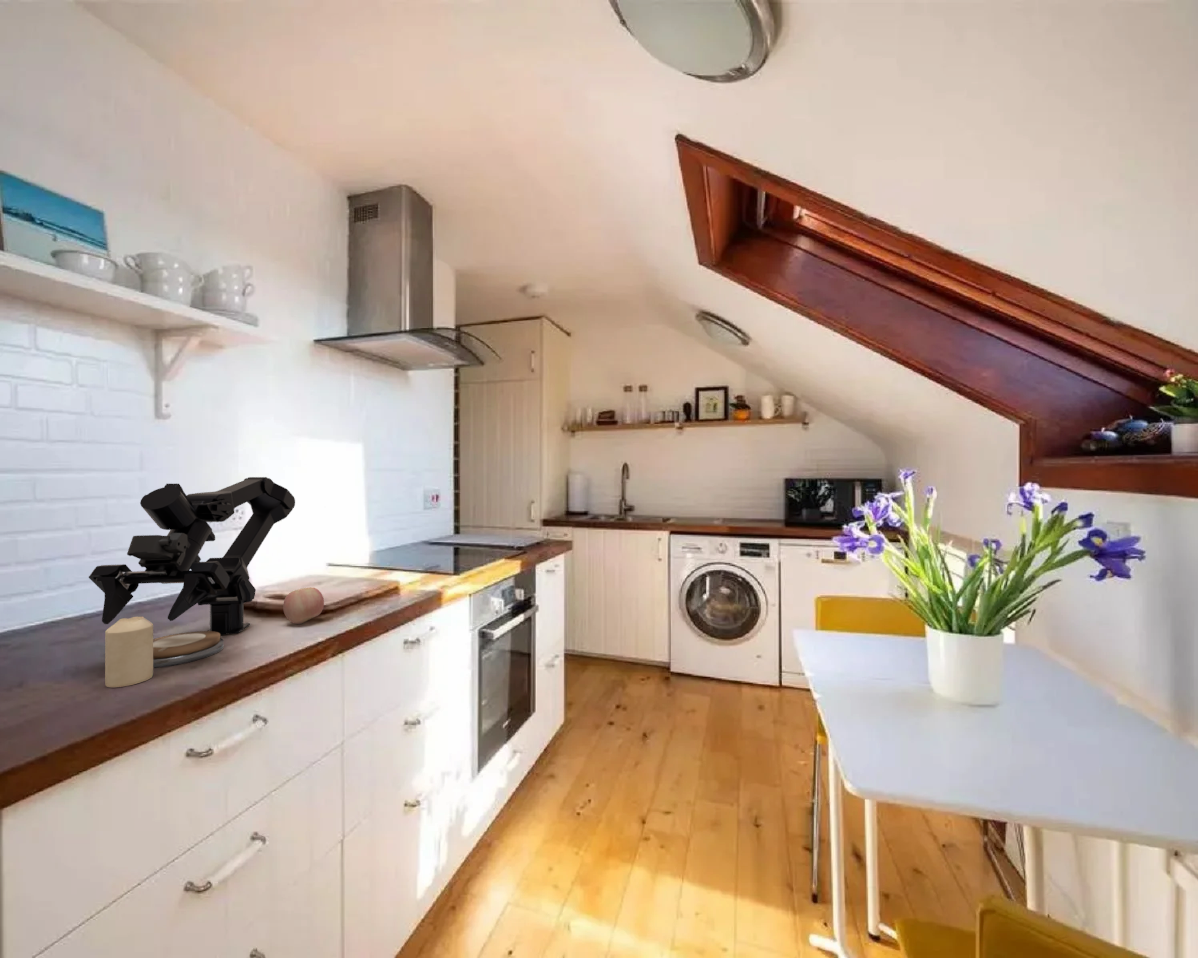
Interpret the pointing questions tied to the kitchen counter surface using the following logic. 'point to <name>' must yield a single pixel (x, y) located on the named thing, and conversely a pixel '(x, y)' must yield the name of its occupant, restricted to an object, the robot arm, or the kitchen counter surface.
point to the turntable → (184, 643)
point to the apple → (303, 605)
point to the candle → (128, 652)
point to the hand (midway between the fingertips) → (137, 621)
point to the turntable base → (188, 656)
